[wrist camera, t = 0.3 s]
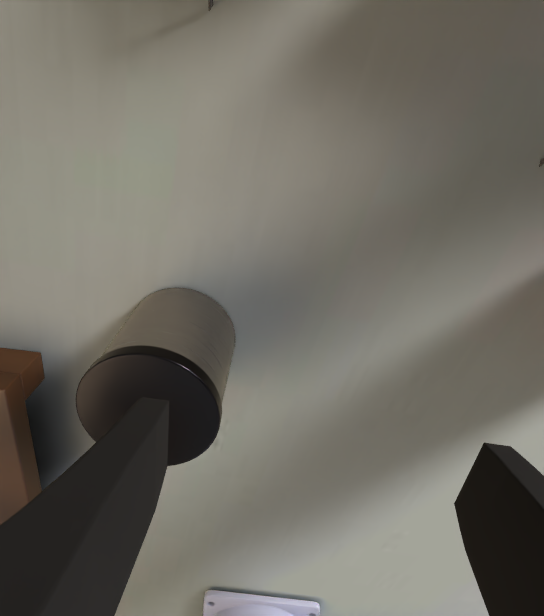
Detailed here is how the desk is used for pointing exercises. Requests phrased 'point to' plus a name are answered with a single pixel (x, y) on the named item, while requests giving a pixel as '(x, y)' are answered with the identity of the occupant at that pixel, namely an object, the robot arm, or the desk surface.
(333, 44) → the desk surface
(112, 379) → the spice tin
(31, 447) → the wooden display base
